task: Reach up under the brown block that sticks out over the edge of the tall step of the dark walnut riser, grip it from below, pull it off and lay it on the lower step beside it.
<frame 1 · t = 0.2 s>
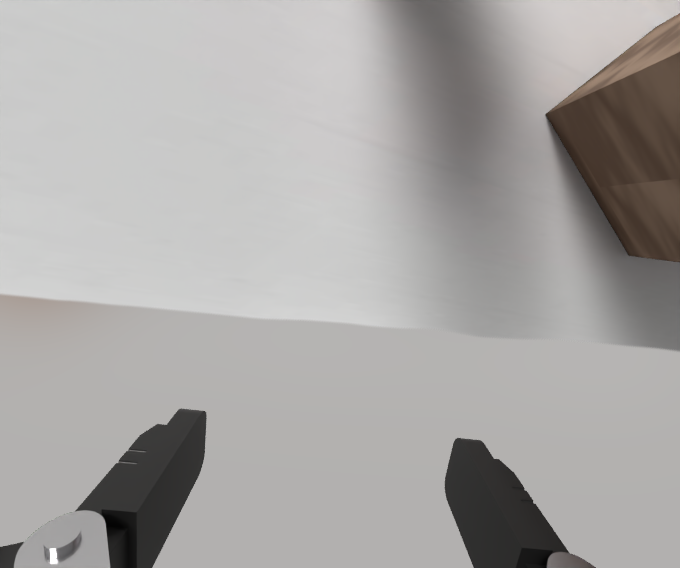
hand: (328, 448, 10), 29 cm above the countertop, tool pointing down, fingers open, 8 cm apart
walnut riser: (641, 148, 37), on the countertop
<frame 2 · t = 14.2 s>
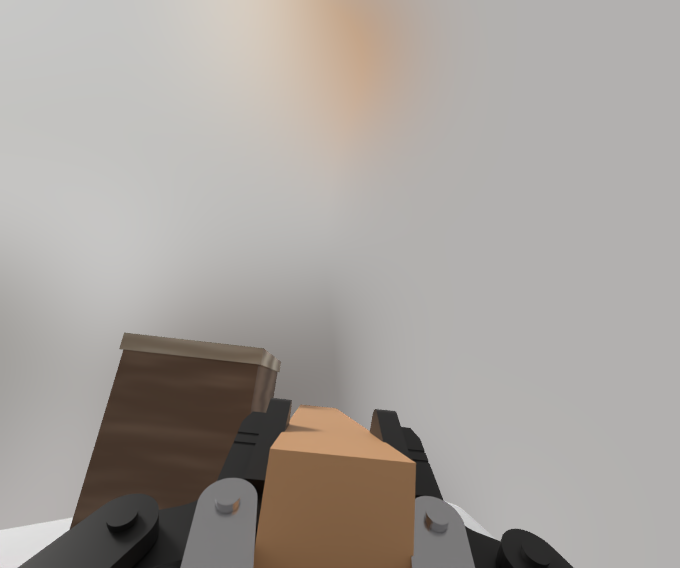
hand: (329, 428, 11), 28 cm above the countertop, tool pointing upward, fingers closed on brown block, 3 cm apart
brown block: (316, 481, 16), point 25 cm above the countertop, touching gripper
when the fingers open (28 cm above the countertop, at t = 16.2 s): brown block drops 2 cm, resting on walnut riser.
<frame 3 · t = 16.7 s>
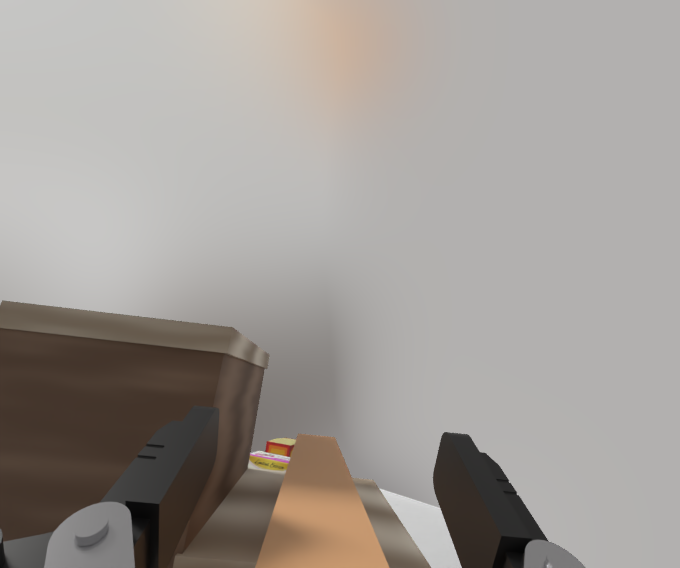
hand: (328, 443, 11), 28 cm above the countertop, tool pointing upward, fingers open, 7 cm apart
candy bar box: (260, 561, 58), on the countertop
brown block: (310, 539, 15), point 23 cm above the countertop, touching walnut riser
baking soda box: (277, 512, 80), on the countertop
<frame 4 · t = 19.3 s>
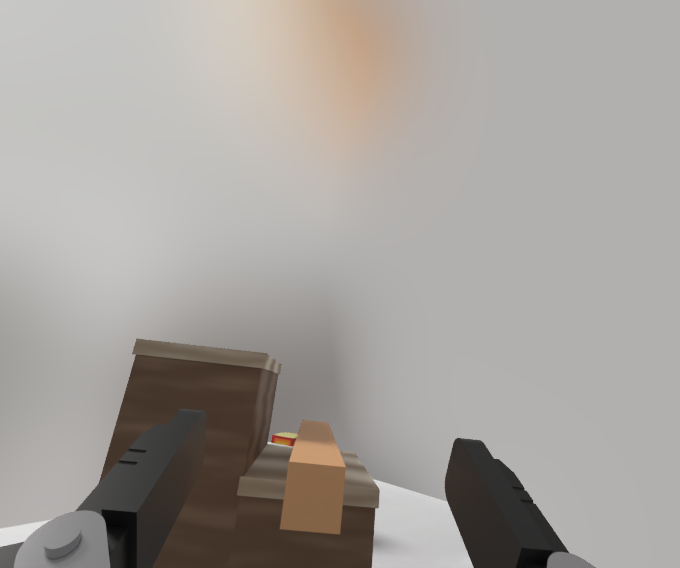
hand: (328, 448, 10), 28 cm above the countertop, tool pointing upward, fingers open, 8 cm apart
brown block: (311, 474, 27), point 23 cm above the countertop, touching walnut riser
baking soda box: (282, 497, 91), on the countertop
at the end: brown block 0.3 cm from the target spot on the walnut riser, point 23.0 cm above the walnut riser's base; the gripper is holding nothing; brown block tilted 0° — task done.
